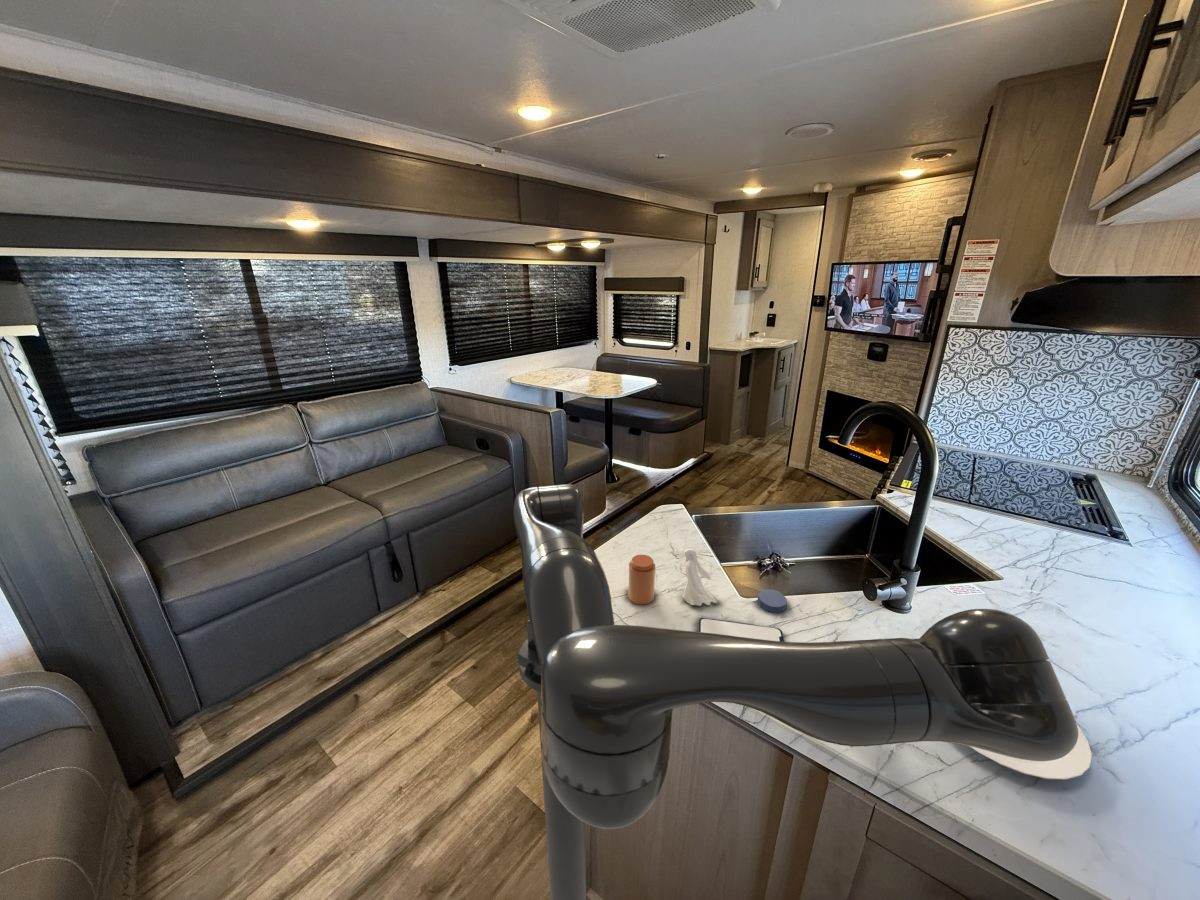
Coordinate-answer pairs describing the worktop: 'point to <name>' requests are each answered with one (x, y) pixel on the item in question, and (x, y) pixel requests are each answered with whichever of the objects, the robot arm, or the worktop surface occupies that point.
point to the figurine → (695, 581)
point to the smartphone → (740, 629)
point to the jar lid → (772, 601)
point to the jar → (641, 579)
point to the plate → (1050, 762)
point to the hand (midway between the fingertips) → (847, 672)
